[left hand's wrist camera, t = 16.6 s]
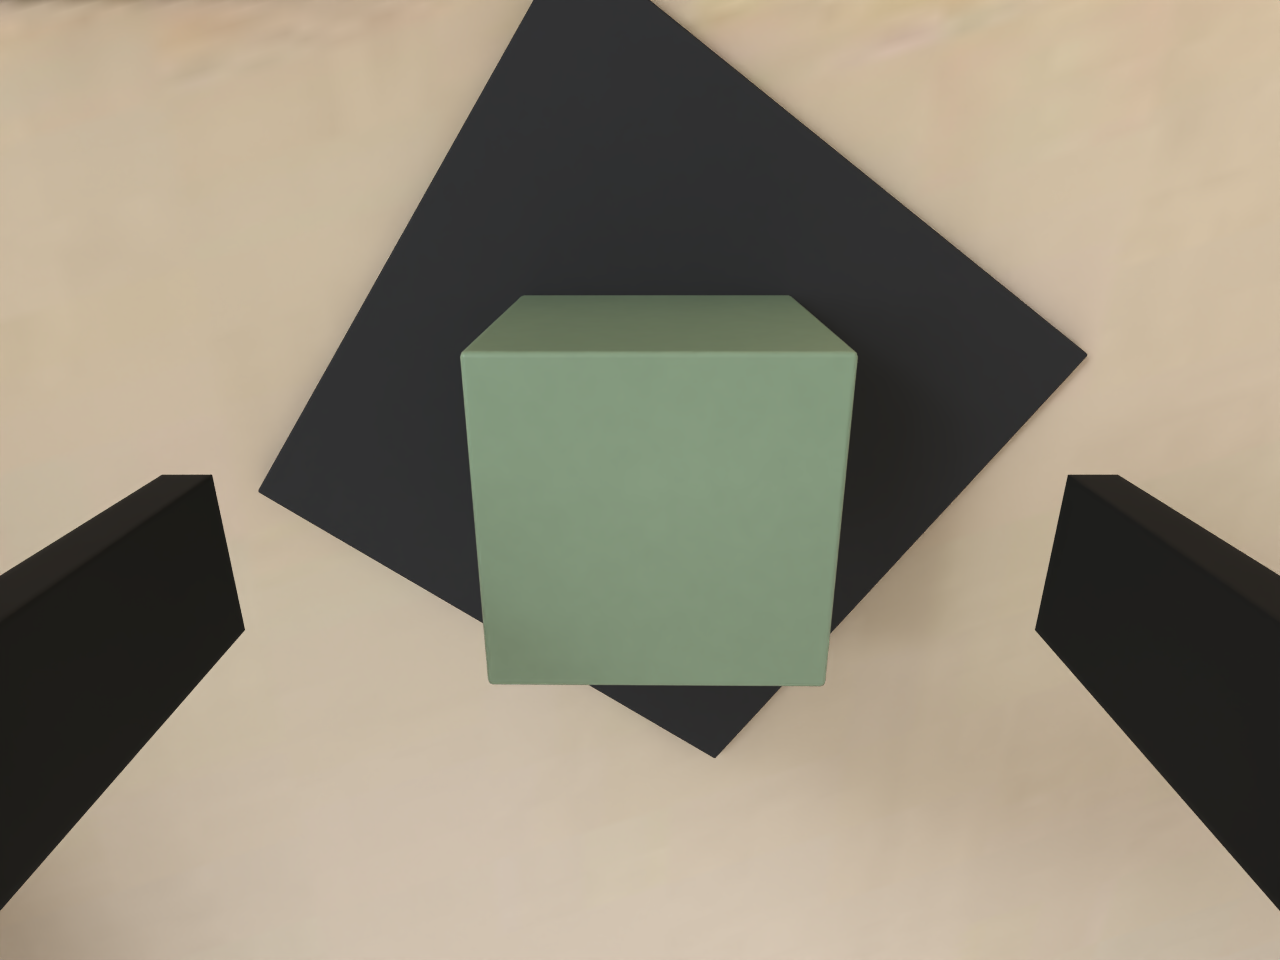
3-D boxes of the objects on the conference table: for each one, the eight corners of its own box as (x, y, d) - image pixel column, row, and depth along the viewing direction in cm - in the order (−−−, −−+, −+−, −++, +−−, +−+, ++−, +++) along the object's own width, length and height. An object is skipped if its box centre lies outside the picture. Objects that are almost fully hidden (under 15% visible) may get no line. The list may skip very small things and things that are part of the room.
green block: (775, 540, 19) (826, 688, 14) (534, 539, 19) (487, 686, 14) (791, 294, 17) (860, 352, 12) (520, 294, 17) (458, 351, 12)
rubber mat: (713, 749, 22) (714, 759, 22) (264, 486, 19) (256, 491, 19) (1080, 351, 18) (1089, 354, 18) (571, -60, 15) (569, -66, 15)
